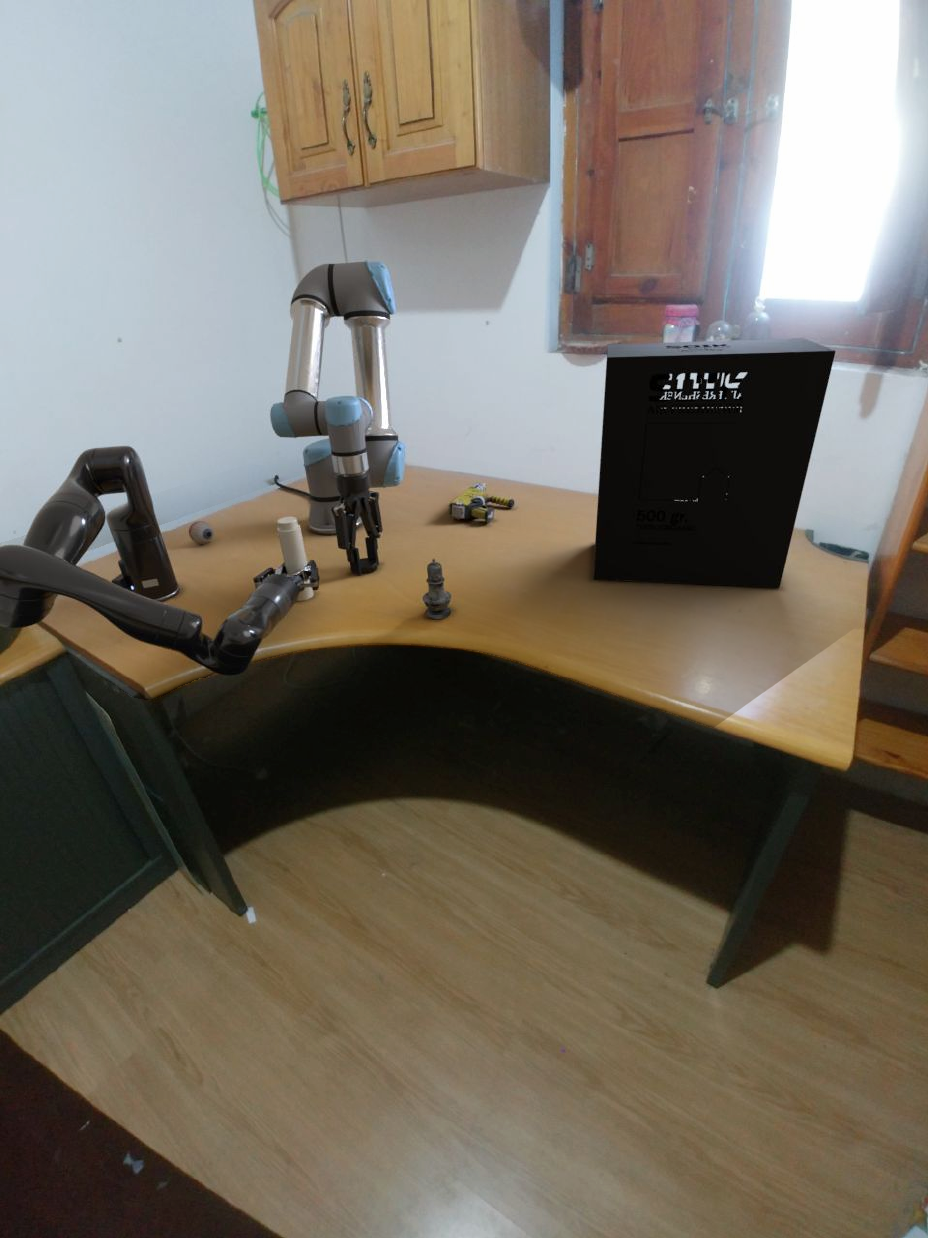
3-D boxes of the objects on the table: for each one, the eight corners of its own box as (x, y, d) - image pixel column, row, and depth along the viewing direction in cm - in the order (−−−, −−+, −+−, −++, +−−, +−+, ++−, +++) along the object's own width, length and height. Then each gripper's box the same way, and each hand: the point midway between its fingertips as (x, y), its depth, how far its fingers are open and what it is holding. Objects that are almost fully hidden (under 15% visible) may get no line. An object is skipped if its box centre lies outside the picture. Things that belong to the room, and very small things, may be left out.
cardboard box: (759, 548, 141) (803, 338, 119) (779, 587, 124) (835, 350, 102) (595, 543, 149) (607, 344, 126) (593, 579, 132) (607, 357, 109)
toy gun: (522, 487, 180) (475, 480, 184) (500, 511, 160) (447, 502, 164) (521, 502, 182) (474, 495, 186) (499, 527, 162) (447, 519, 166)
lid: (358, 576, 140) (357, 569, 139) (350, 568, 144) (349, 561, 143) (380, 571, 142) (379, 563, 141) (372, 562, 147) (371, 555, 146)
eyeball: (202, 548, 159) (196, 527, 156) (187, 544, 162) (181, 523, 159) (221, 540, 163) (215, 519, 160) (206, 537, 166) (200, 516, 163)
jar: (298, 590, 135) (282, 515, 126) (317, 591, 134) (302, 516, 125) (288, 600, 131) (271, 523, 122) (307, 601, 130) (291, 524, 121)
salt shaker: (449, 620, 120) (445, 565, 114) (420, 618, 121) (415, 564, 115) (455, 606, 125) (451, 552, 119) (427, 604, 126) (422, 551, 120)
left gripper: (241, 617, 120) (274, 578, 135) (310, 617, 118) (336, 579, 133) (232, 583, 116) (267, 547, 131) (303, 583, 114) (330, 547, 129)
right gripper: (366, 459, 140) (377, 551, 152) (308, 481, 127) (326, 580, 138) (391, 463, 137) (401, 557, 148) (335, 485, 123) (350, 587, 135)
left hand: (301, 563), depth 132 cm, fingers closed on jar, 4 cm apart
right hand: (365, 568), depth 143 cm, fingers closed on lid, 6 cm apart
